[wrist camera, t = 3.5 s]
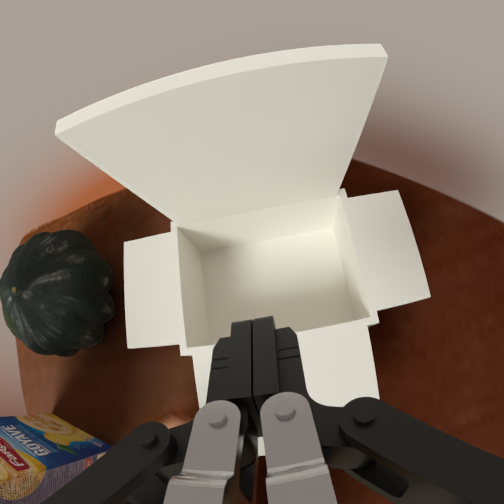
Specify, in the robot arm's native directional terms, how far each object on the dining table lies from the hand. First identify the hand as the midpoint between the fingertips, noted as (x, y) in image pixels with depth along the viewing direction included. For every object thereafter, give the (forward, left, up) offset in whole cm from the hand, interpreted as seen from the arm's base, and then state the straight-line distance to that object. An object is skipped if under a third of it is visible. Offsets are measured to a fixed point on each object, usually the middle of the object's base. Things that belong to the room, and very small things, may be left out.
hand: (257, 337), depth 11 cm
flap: (0, -12, -13) cm, 18 cm away
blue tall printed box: (+28, +12, -21) cm, 37 cm away
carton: (0, -2, -21) cm, 21 cm away
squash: (+24, -8, -21) cm, 33 cm away
